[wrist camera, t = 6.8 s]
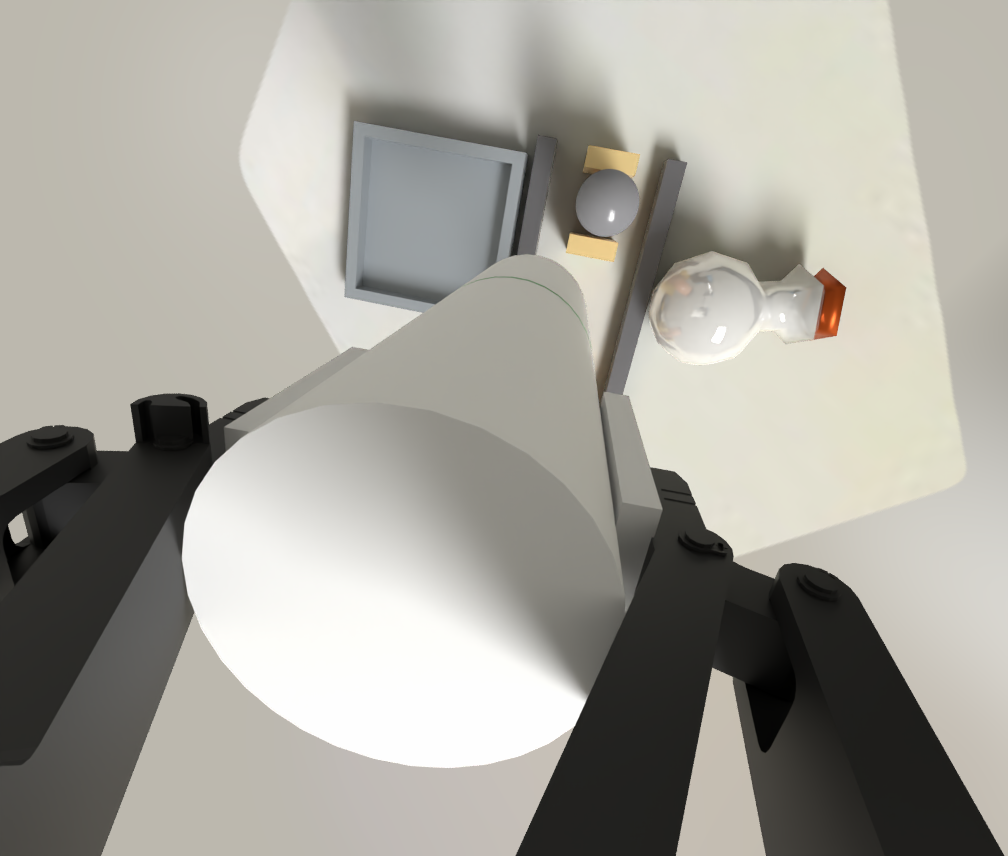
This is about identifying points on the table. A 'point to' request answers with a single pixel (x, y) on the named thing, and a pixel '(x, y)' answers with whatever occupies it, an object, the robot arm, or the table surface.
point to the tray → (426, 214)
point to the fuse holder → (605, 247)
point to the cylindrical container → (424, 534)
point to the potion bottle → (738, 308)
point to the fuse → (607, 202)
